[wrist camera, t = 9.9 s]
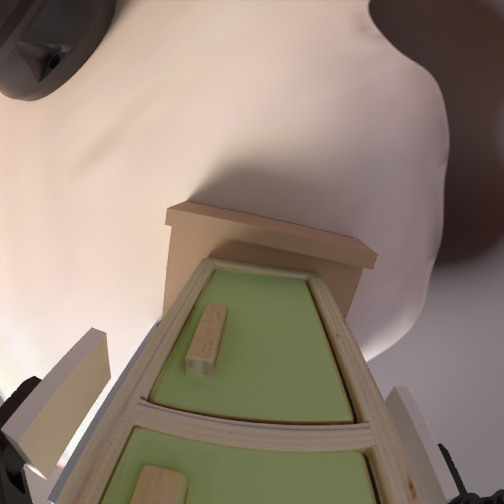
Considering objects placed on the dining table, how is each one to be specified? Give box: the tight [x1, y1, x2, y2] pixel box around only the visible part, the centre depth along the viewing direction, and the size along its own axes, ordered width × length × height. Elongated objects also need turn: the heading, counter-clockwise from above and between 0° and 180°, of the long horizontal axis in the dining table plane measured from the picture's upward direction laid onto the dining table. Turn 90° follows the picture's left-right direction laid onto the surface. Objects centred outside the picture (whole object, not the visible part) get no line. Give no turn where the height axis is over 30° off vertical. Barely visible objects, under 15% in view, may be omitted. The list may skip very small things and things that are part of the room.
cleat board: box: [48, 201, 378, 504], centre depth 13 cm, size 13×16×18 cm
